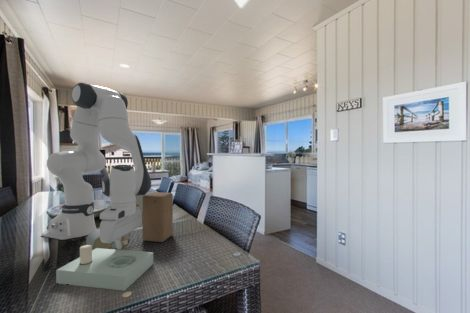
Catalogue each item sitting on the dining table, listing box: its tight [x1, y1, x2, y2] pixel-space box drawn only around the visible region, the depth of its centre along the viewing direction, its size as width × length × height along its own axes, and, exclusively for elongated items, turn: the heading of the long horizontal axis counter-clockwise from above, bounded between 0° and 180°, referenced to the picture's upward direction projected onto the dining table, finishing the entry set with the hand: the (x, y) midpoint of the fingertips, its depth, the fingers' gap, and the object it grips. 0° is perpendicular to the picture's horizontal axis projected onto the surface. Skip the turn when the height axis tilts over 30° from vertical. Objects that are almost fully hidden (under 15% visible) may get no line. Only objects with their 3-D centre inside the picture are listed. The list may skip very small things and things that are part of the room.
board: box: [55, 244, 154, 291], centre depth 75 cm, size 22×16×9 cm
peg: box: [118, 234, 129, 250], centre depth 88 cm, size 3×3×9 cm
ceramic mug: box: [85, 228, 116, 250], centre depth 93 cm, size 11×8×8 cm
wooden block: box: [142, 191, 174, 243], centre depth 106 cm, size 10×10×20 cm
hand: (123, 246), depth 88 cm, fingers closed on peg, 3 cm apart
